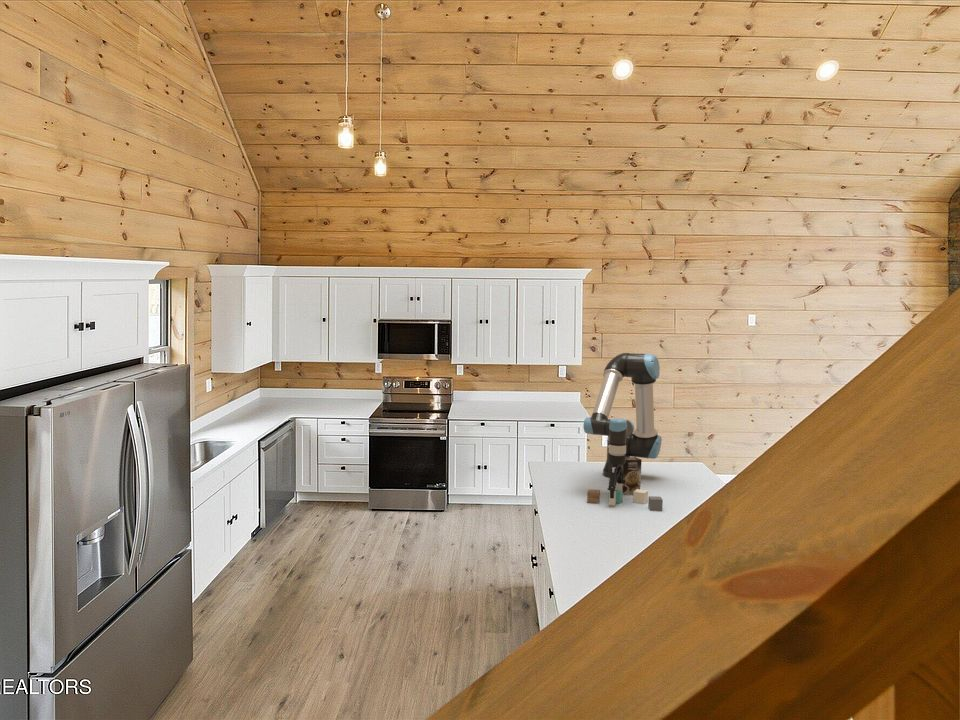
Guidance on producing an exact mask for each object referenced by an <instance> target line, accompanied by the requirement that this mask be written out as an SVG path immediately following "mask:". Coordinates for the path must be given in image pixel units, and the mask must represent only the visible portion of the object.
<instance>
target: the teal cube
mask: <svg viewBox="0 0 960 720" xmlns="http://www.w3.org/2000/svg"><path fill="white" fill-rule="evenodd" d="M615 491H616V501H615V505H616V504H617V505H620V504H622V502H623V498H624V497H623V490H616V489H615Z"/></svg>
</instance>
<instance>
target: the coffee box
mask: <svg viewBox="0 0 960 720" xmlns="http://www.w3.org/2000/svg"><path fill="white" fill-rule="evenodd" d="M642 462H643V461H642V458H640V457H632V456H630V457H626V462H625V464H623V479H624V484H622V483H621V484H622V490H623V495H633V491H635V490H637V489H640V490H641V482H642Z"/></svg>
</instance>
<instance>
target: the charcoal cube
mask: <svg viewBox="0 0 960 720" xmlns="http://www.w3.org/2000/svg"><path fill="white" fill-rule="evenodd" d="M663 500H664V499H663V498H662V496H654V495H651V496H650V495H648V502H647V503H648V507H647V508H648V510H649V511H651V512H652V511H653V512H662V511H663V505H664V504H663Z"/></svg>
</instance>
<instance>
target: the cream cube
mask: <svg viewBox="0 0 960 720" xmlns="http://www.w3.org/2000/svg"><path fill="white" fill-rule="evenodd" d="M632 496H633V497H632V502H633V503H635V504H640V503H641V504H643V505H645V504H647V503H648V502H647V501H649V490H647V489H645V490H644V489H641V488H640V489H637V490H635V491H633V494H632Z"/></svg>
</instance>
